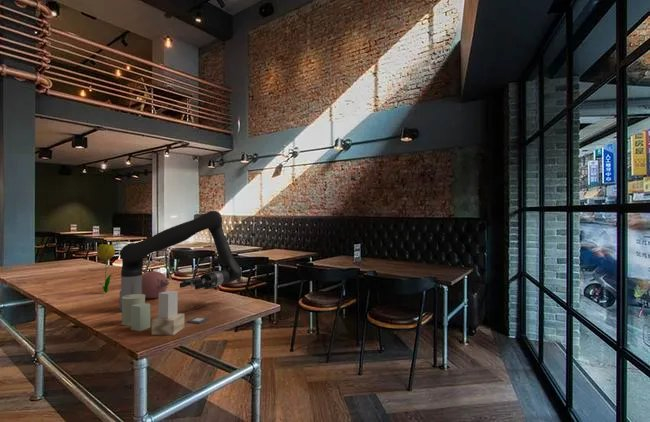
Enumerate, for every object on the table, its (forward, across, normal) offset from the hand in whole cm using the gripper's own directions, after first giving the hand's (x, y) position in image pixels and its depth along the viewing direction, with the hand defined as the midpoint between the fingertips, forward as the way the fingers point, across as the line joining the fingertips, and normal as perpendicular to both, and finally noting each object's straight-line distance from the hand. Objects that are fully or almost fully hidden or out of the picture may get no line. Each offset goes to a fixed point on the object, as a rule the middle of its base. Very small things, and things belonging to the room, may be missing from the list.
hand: (187, 286), depth 147 cm
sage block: (+13, -13, +16) cm, 24 cm away
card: (-3, +3, +16) cm, 17 cm away
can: (+8, -23, +17) cm, 29 cm away
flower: (-26, -86, +17) cm, 91 cm away
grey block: (+11, 0, +10) cm, 15 cm away
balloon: (-27, -48, +17) cm, 57 cm away
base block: (+11, 0, +16) cm, 20 cm away
